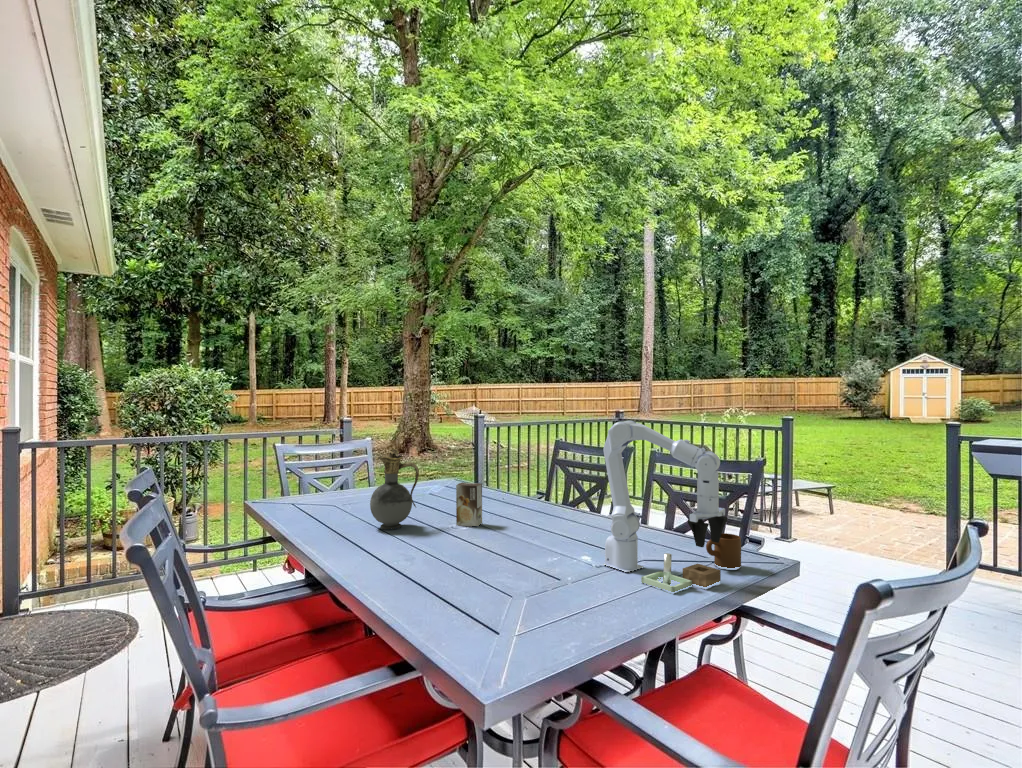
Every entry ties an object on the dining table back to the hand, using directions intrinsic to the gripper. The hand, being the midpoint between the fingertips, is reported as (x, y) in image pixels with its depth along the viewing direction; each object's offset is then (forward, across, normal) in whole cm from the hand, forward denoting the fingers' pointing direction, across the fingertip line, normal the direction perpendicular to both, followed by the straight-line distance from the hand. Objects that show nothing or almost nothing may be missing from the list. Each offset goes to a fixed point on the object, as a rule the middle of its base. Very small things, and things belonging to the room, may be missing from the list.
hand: (707, 544), depth 158 cm
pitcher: (+11, -41, +109) cm, 117 cm away
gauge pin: (+10, -12, +5) cm, 16 cm away
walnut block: (+10, -3, 0) cm, 11 cm away
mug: (+11, +14, +4) cm, 18 cm away
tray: (+10, -12, +5) cm, 17 cm away
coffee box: (+11, -16, +95) cm, 97 cm away
